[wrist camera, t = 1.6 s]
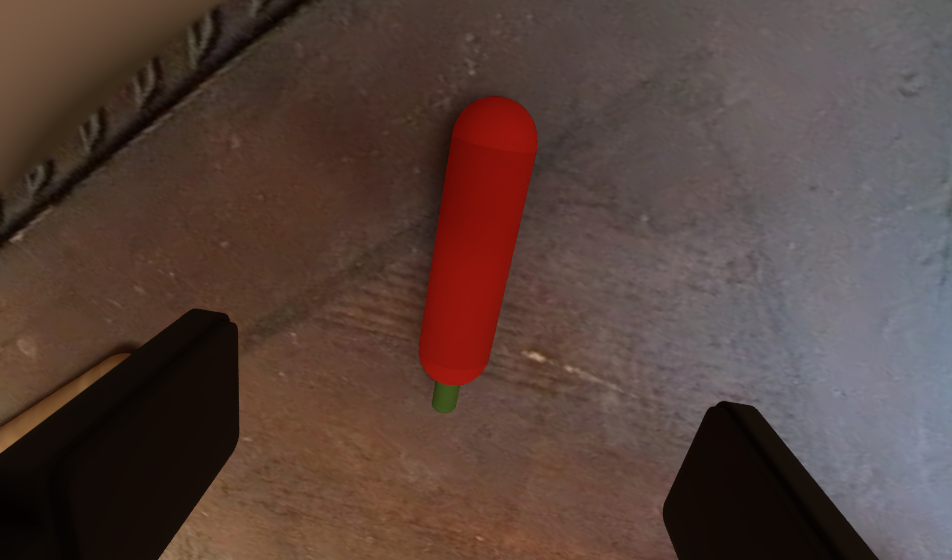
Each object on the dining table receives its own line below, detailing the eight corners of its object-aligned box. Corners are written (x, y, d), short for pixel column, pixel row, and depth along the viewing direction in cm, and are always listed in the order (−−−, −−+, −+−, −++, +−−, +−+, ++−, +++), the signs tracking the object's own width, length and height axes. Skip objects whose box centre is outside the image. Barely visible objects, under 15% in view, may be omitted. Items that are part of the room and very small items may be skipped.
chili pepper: (461, 86, 16) (456, 89, 13) (542, 102, 16) (552, 108, 14) (415, 380, 21) (404, 423, 18) (477, 390, 21) (475, 434, 18)
